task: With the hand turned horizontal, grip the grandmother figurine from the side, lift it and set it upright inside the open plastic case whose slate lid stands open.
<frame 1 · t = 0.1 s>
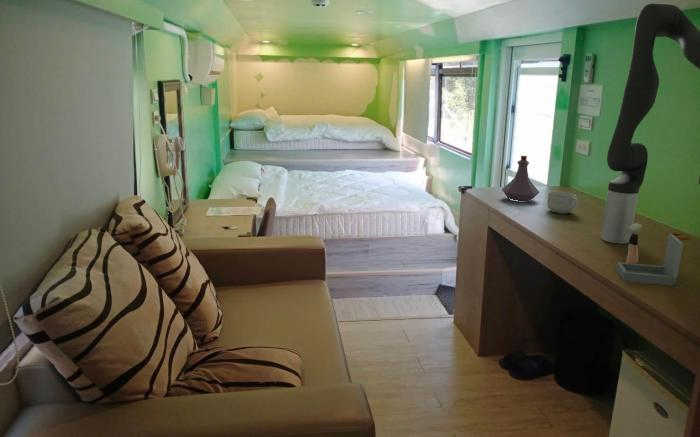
case: (644, 277, 147), on the table
grandmother figurine: (630, 264, 158), on the table
flask: (519, 200, 239), on the table
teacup: (562, 213, 217), on the table
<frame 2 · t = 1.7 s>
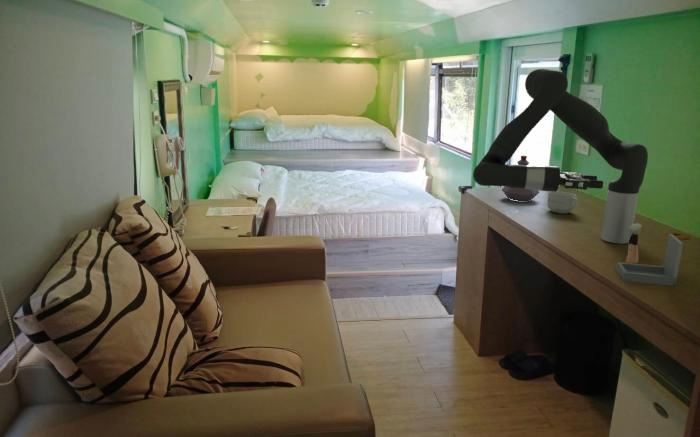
hand: (599, 182, 154), 24 cm above the table, tool horizontal, fingers open, 8 cm apart
nothing on the table moved.
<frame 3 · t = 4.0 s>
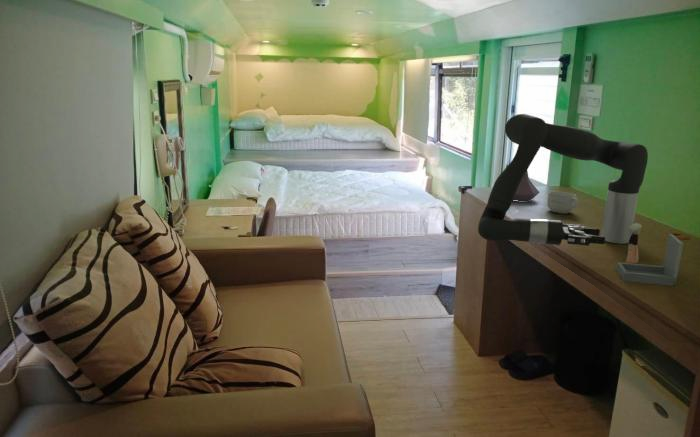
hand: (601, 236, 158), 8 cm above the table, tool horizontal, fingers open, 8 cm apart
nothing on the table moved.
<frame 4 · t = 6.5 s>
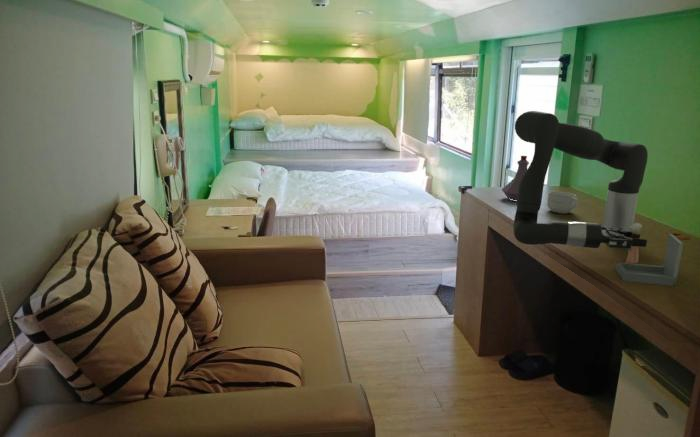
hand: (642, 239, 156), 8 cm above the table, tool horizontal, fingers closed on grandmother figurine, 6 cm apart
grandmother figurine: (630, 264, 158), on the table, touching gripper
everything else where it was.
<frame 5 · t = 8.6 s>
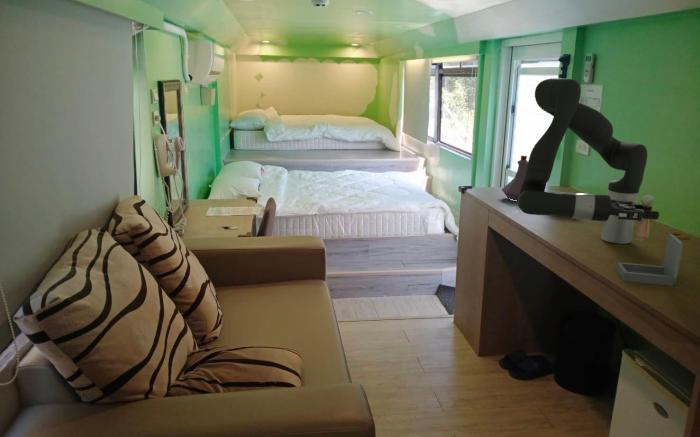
hand: (654, 212, 147), 18 cm above the table, tool horizontal, fingers closed on grandmother figurine, 6 cm apart
grandmother figurine: (640, 239, 150), point 10 cm above the table, touching gripper
everything else where it was.
when the fingers open (10 cm above the table, at t = 11.0 s): grandmother figurine drops 1 cm, resting on case.
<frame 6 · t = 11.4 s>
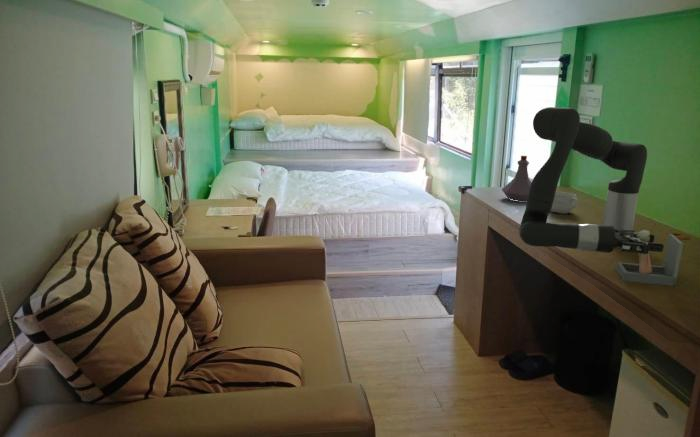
hand: (658, 243, 144), 10 cm above the table, tool horizontal, fingers open, 8 cm apart
grandmother figurine: (644, 274, 147), point 1 cm above the table, touching case
everything else where it was.
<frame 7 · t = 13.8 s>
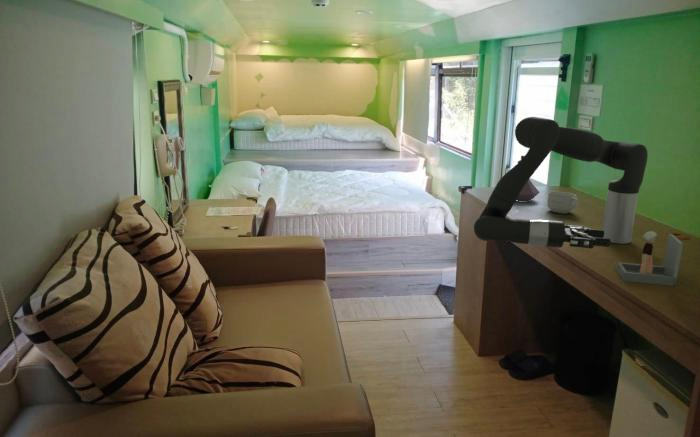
hand: (606, 238, 147), 10 cm above the table, tool horizontal, fingers open, 8 cm apart
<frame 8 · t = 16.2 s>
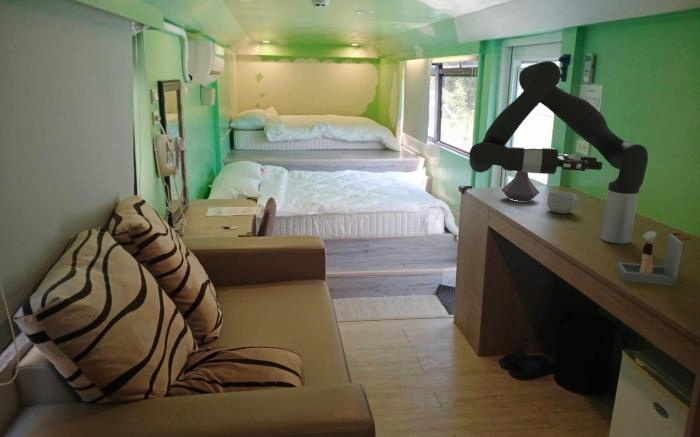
hand: (598, 163, 151), 30 cm above the table, tool horizontal, fingers open, 8 cm apart
nothing on the table moved.
at the end: grandmother figurine inside the target area on the case (0.2 cm from its centre), point 0.6 cm above the case's base; grandmother figurine tilted 0°; the gripper is holding nothing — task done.
